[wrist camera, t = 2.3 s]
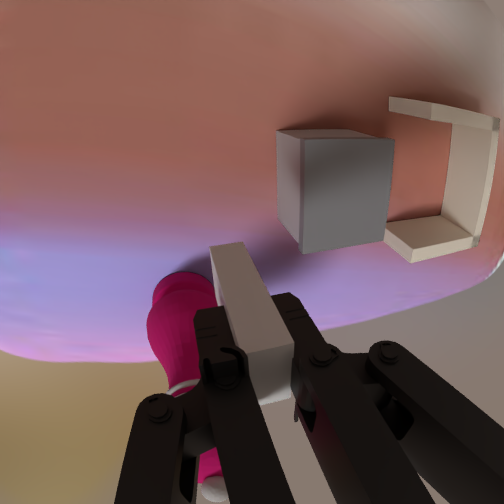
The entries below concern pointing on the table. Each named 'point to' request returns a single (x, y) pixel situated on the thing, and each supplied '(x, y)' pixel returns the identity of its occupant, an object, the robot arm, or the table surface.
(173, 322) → the pepper mill
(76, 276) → the table surface
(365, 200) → the rounded grey cube
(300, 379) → the robot arm
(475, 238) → the bay
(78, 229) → the table surface
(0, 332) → the table surface
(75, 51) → the table surface
